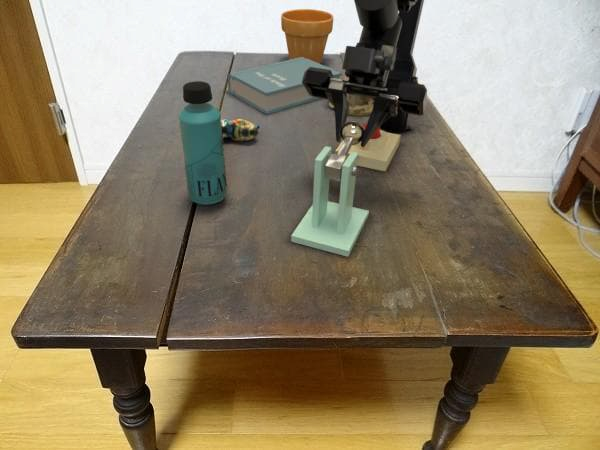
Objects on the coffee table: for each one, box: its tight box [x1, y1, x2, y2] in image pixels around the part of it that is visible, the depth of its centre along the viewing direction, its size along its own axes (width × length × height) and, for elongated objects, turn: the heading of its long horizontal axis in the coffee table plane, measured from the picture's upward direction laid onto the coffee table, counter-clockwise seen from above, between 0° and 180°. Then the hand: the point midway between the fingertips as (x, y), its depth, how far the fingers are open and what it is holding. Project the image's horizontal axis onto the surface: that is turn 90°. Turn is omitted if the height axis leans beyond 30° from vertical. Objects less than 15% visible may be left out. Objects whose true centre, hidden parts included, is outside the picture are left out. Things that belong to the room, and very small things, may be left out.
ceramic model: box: [328, 76, 374, 117], centre depth 112 cm, size 14×11×10 cm
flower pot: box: [280, 8, 334, 65], centre depth 135 cm, size 14×14×13 cm
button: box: [361, 123, 380, 139], centre depth 93 cm, size 4×4×2 cm
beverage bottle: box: [177, 80, 228, 206], centre depth 74 cm, size 6×7×20 cm
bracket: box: [290, 145, 370, 258], centre depth 71 cm, size 11×9×13 cm
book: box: [227, 57, 343, 115], centre depth 119 cm, size 23×16×5 cm
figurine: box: [221, 118, 260, 142], centre depth 99 cm, size 10×4×15 cm
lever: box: [325, 120, 365, 182], centre depth 71 cm, size 11×4×4 cm, turn 158°
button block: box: [334, 129, 402, 172], centre depth 95 cm, size 12×10×4 cm
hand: (349, 143), depth 73 cm, fingers closed on lever, 3 cm apart
